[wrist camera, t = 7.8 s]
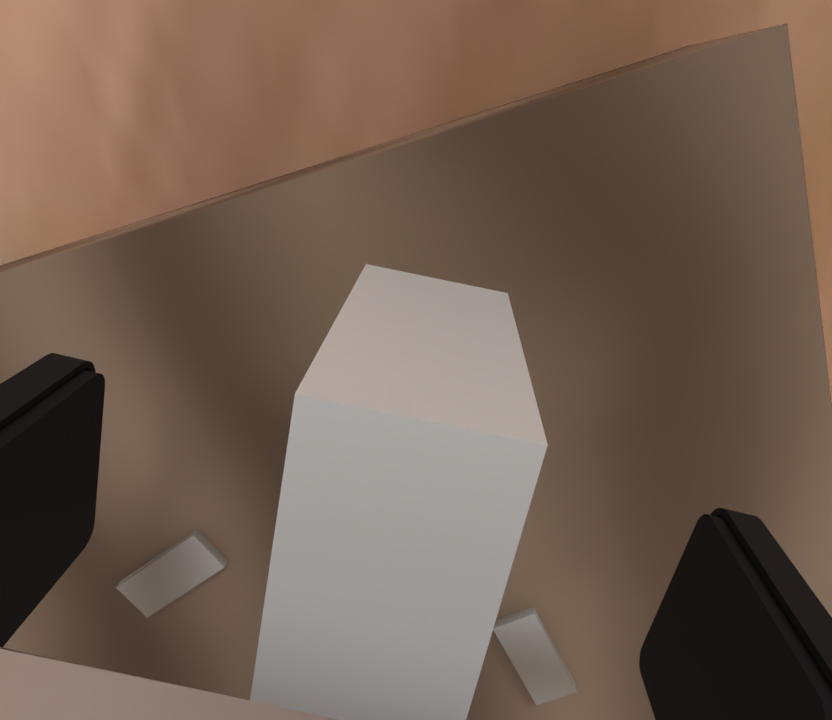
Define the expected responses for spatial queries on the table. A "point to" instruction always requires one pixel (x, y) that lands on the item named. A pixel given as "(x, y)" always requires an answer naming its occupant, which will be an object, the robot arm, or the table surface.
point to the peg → (399, 504)
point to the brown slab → (542, 346)
